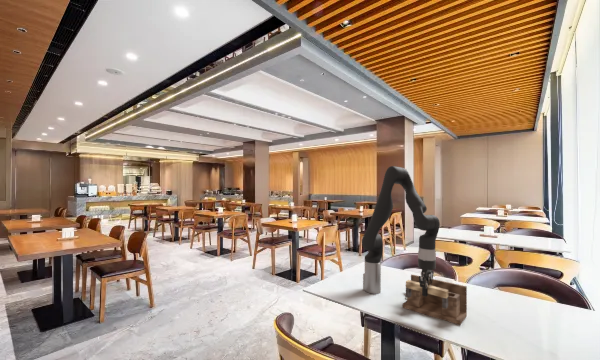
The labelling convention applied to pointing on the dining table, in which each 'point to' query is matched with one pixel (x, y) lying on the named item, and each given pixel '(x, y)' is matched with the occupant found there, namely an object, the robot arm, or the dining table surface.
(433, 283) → the wooden pen holder stand
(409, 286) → the oak rail
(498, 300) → the dining table surface
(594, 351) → the dining table surface
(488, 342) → the dining table surface
